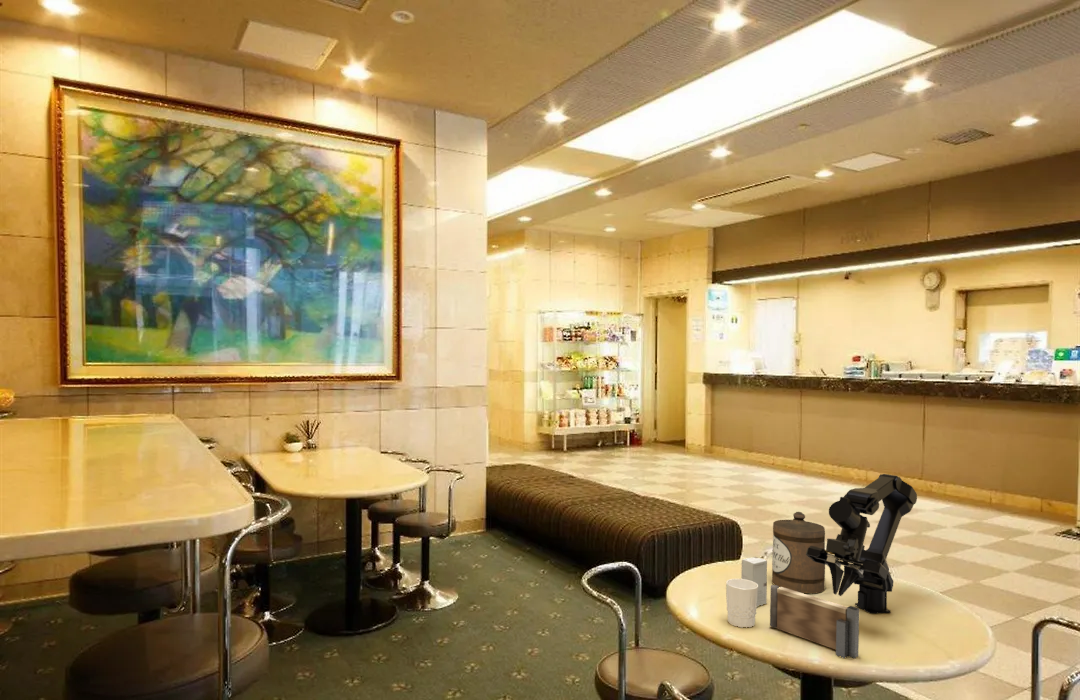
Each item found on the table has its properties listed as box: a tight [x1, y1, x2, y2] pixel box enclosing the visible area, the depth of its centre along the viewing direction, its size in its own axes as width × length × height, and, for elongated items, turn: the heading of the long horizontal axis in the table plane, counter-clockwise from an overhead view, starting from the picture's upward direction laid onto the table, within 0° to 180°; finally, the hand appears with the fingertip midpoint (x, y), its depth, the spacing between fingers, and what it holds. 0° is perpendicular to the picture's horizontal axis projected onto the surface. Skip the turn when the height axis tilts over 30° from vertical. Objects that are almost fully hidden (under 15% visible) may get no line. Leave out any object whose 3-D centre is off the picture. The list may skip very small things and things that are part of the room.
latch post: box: [835, 605, 860, 659], centre depth 151 cm, size 4×4×11 cm
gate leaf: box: [769, 584, 848, 650], centre depth 160 cm, size 19×2×10 cm, turn 40°
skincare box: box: [740, 556, 768, 607], centre depth 183 cm, size 6×4×12 cm
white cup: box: [725, 578, 758, 629], centre depth 169 cm, size 8×8×10 cm
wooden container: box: [771, 511, 826, 595], centre depth 198 cm, size 15×15×22 cm
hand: (837, 594), depth 167 cm, fingers closed
